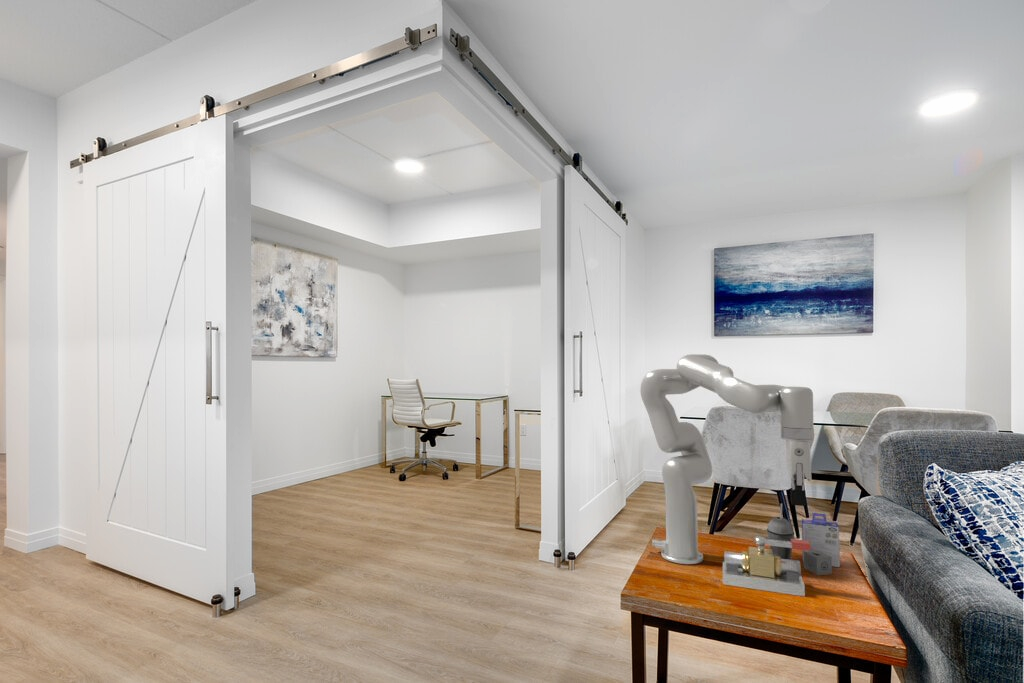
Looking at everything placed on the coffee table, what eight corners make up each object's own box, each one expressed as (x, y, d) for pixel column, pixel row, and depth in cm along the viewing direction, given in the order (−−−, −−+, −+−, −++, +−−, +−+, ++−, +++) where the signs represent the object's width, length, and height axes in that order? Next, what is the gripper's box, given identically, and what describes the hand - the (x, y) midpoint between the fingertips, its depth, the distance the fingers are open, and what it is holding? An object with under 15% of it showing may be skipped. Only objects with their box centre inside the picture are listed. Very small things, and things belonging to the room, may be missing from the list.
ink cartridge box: (838, 561, 159) (837, 514, 160) (841, 568, 154) (839, 519, 155) (801, 556, 163) (800, 510, 164) (803, 562, 158) (802, 515, 159)
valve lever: (755, 544, 143) (755, 538, 143) (754, 541, 146) (754, 534, 146) (810, 551, 138) (810, 544, 138) (808, 547, 141) (808, 540, 141)
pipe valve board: (722, 584, 143) (722, 544, 144) (722, 572, 151) (722, 534, 152) (804, 596, 136) (803, 554, 136) (800, 583, 144) (799, 543, 144)
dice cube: (804, 568, 154) (803, 551, 154) (818, 567, 155) (818, 550, 155) (817, 575, 149) (816, 557, 149) (831, 574, 150) (831, 556, 150)
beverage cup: (788, 566, 156) (787, 499, 156) (799, 576, 148) (798, 506, 149) (763, 565, 156) (762, 498, 157) (773, 575, 149) (772, 505, 150)
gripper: (817, 439, 126) (818, 514, 126) (810, 431, 140) (811, 499, 139) (782, 437, 129) (783, 510, 129) (779, 429, 143) (780, 496, 142)
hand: (798, 504), depth 134 cm, fingers closed
